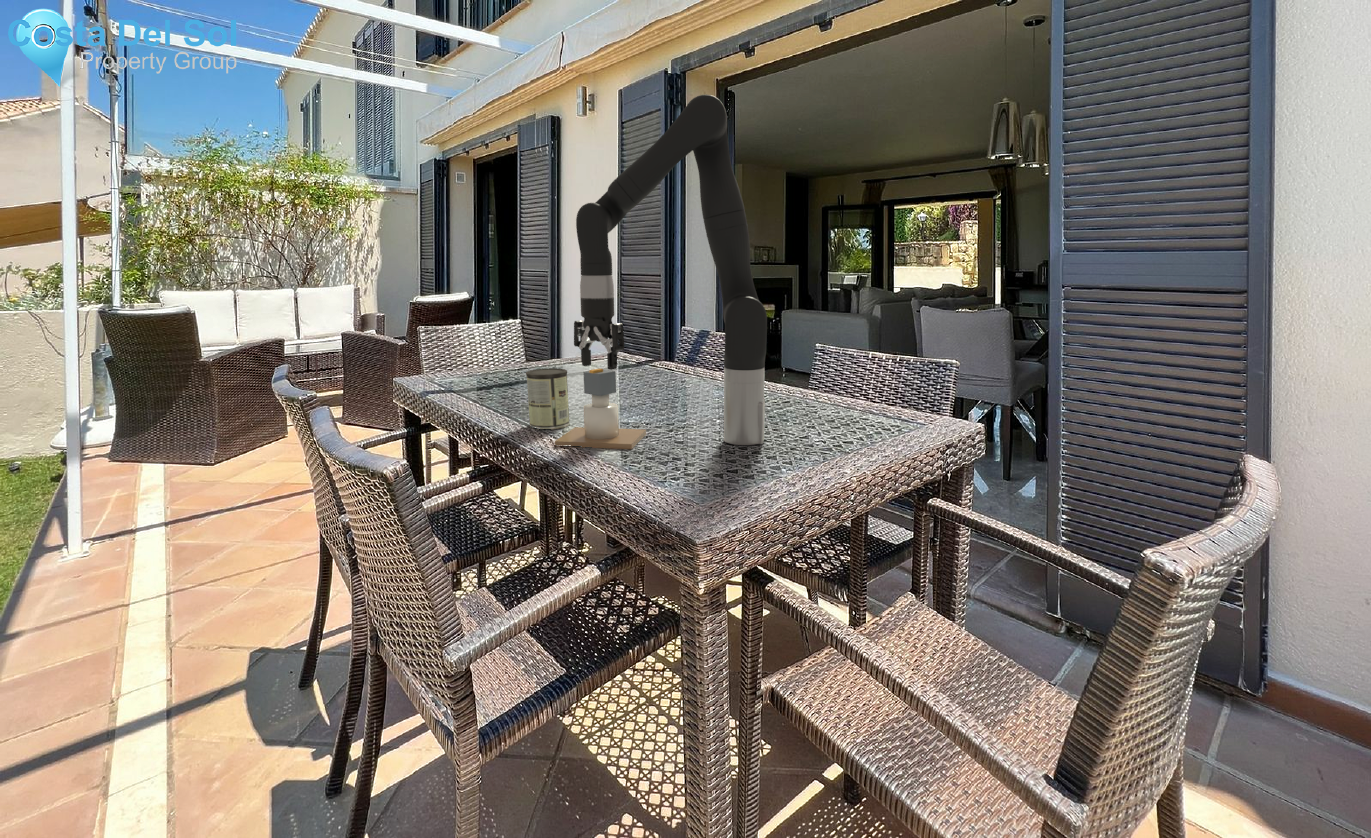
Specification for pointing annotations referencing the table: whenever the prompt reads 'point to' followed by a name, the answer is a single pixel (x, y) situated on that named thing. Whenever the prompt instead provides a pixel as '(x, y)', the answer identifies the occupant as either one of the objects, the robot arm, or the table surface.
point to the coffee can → (548, 398)
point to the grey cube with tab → (599, 382)
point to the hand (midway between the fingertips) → (599, 367)
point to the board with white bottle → (601, 428)
